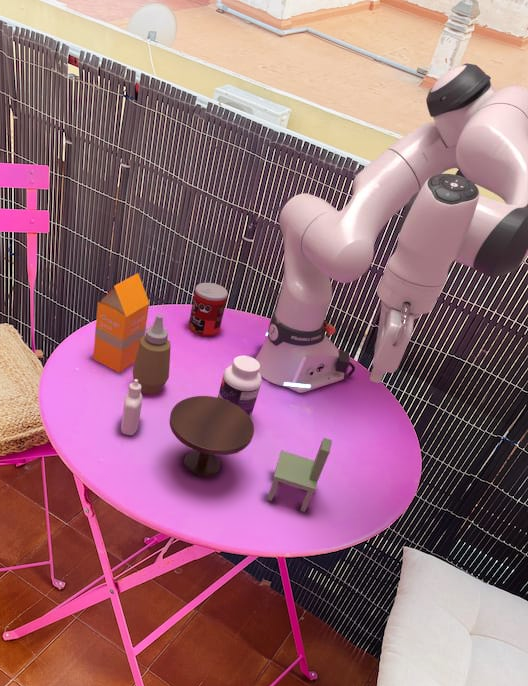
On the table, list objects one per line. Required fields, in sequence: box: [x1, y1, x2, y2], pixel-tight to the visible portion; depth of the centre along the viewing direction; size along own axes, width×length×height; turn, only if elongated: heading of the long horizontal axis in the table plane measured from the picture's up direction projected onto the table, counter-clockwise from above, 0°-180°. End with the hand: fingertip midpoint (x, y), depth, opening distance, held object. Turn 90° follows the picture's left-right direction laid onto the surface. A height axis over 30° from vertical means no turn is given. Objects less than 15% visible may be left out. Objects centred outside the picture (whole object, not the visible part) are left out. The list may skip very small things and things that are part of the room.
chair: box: [266, 437, 333, 512], centre depth 129 cm, size 8×8×14 cm
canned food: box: [188, 282, 228, 338], centre depth 169 cm, size 8×8×11 cm
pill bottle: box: [217, 355, 263, 419], centre depth 143 cm, size 8×8×14 cm
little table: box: [169, 395, 255, 478], centre depth 132 cm, size 16×16×11 cm
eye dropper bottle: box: [120, 379, 143, 436], centre depth 137 cm, size 4×6×12 cm
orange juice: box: [92, 272, 150, 373], centre depth 151 cm, size 8×9×20 cm
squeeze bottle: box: [132, 314, 172, 396], centre depth 146 cm, size 8×8×18 cm
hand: (376, 364), depth 113 cm, fingers open, 8 cm apart
